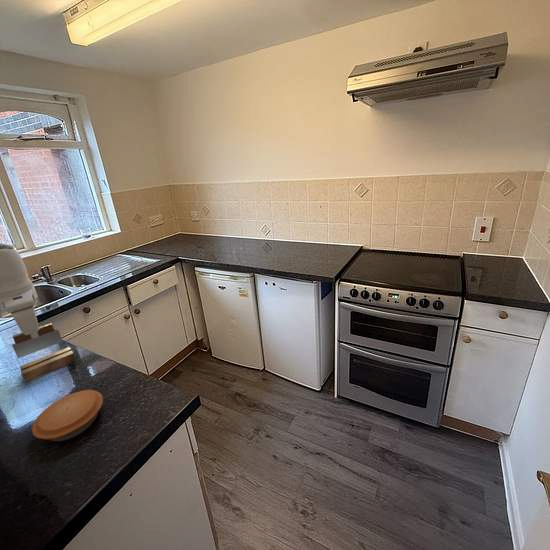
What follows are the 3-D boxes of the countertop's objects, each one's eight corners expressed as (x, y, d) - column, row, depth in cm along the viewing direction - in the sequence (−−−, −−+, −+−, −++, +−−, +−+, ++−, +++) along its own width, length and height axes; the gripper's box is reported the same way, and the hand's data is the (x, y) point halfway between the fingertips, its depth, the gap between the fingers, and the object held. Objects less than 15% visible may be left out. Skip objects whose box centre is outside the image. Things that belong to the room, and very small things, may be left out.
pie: (22, 441, 73) (14, 426, 72) (80, 395, 87) (74, 382, 85) (65, 457, 68) (57, 441, 66) (119, 406, 81) (114, 391, 80)
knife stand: (27, 386, 93) (21, 374, 92) (25, 377, 98) (20, 366, 96) (77, 364, 102) (73, 353, 100) (74, 357, 106) (69, 346, 105)
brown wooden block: (18, 359, 92) (8, 339, 90) (17, 357, 94) (8, 337, 91) (63, 342, 100) (55, 323, 97) (62, 340, 101) (54, 321, 98)
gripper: (3, 291, 95) (20, 328, 100) (5, 310, 81) (25, 352, 86) (28, 284, 99) (43, 321, 104) (34, 301, 85) (51, 343, 90)
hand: (35, 335), depth 95 cm, fingers closed on brown wooden block, 2 cm apart
